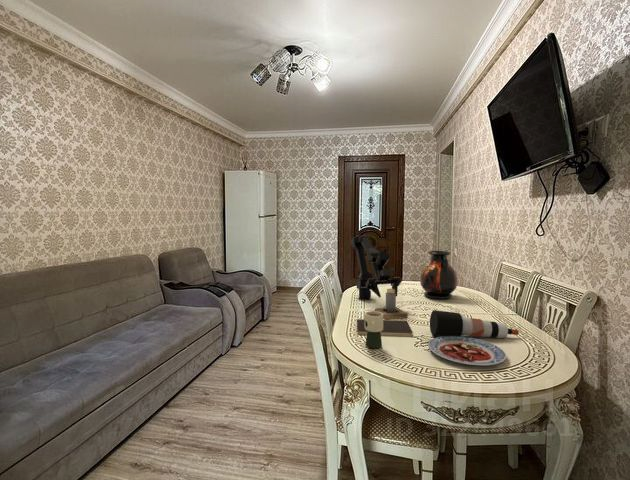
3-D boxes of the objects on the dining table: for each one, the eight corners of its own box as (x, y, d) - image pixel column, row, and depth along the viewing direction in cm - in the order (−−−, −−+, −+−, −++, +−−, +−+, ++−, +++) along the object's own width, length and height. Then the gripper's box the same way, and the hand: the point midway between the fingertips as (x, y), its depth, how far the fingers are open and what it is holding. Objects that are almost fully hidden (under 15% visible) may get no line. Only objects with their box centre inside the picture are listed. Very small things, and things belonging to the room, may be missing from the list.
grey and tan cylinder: (383, 315, 169) (384, 289, 167) (388, 312, 172) (388, 287, 171) (393, 316, 165) (393, 291, 164) (397, 314, 169) (397, 289, 168)
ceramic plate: (468, 377, 105) (468, 368, 105) (413, 347, 128) (413, 339, 128) (523, 362, 115) (523, 353, 115) (463, 337, 139) (463, 330, 138)
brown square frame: (374, 312, 173) (374, 308, 173) (395, 310, 176) (395, 306, 176) (384, 319, 162) (385, 315, 161) (407, 317, 165) (407, 313, 164)
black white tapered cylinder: (517, 350, 135) (527, 333, 130) (432, 340, 137) (439, 322, 132) (508, 331, 144) (517, 314, 138) (428, 322, 146) (434, 305, 140)
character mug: (365, 340, 135) (365, 308, 134) (383, 341, 133) (383, 309, 132) (363, 351, 124) (363, 317, 123) (382, 352, 123) (383, 318, 122)
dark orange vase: (414, 293, 213) (414, 250, 211) (446, 292, 216) (447, 249, 214) (429, 302, 192) (430, 254, 190) (464, 301, 194) (466, 253, 192)
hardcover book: (412, 337, 139) (412, 332, 139) (357, 335, 142) (357, 330, 141) (406, 325, 155) (406, 320, 155) (356, 323, 157) (356, 318, 157)
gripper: (367, 263, 172) (376, 289, 162) (400, 261, 176) (411, 287, 167) (361, 275, 180) (369, 300, 171) (393, 273, 185) (402, 298, 175)
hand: (388, 296), depth 171 cm, fingers open, 9 cm apart
